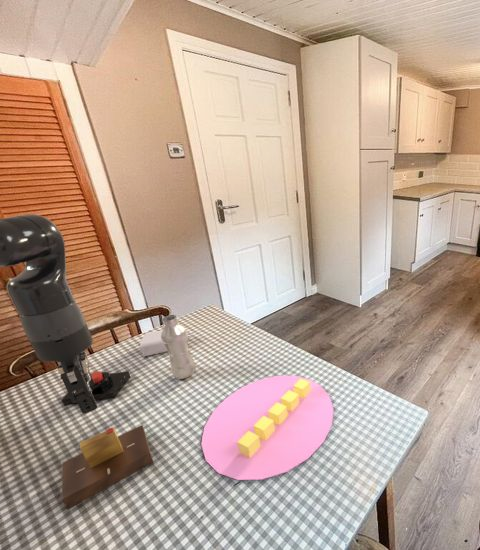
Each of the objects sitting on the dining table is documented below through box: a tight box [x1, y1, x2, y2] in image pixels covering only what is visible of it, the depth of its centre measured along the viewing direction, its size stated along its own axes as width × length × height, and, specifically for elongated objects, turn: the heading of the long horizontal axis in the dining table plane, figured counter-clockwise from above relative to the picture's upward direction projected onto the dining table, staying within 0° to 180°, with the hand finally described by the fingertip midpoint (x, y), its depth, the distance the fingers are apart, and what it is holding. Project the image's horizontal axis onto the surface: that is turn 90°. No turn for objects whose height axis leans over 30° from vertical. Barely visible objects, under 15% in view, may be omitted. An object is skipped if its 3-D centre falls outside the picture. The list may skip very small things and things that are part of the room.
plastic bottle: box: [161, 314, 197, 380], centre depth 89 cm, size 6×7×20 cm
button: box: [90, 371, 103, 384], centre depth 85 cm, size 4×4×2 cm
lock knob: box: [79, 426, 123, 468], centre depth 63 cm, size 6×2×6 cm, turn 132°
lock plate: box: [61, 424, 155, 510], centre depth 65 cm, size 14×10×3 cm
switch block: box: [61, 370, 131, 407], centre depth 86 cm, size 12×9×4 cm
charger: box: [139, 329, 194, 358], centre depth 106 cm, size 5×9×15 cm
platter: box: [200, 375, 334, 481], centre depth 77 cm, size 32×32×3 cm
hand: (89, 398), depth 60 cm, fingers open, 8 cm apart
